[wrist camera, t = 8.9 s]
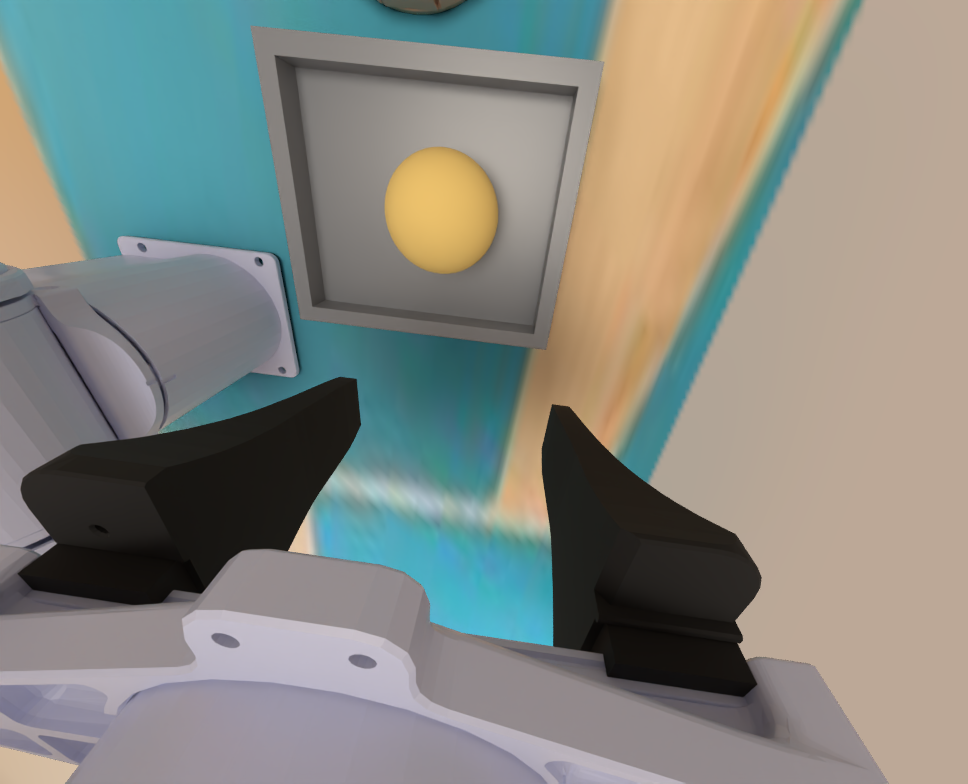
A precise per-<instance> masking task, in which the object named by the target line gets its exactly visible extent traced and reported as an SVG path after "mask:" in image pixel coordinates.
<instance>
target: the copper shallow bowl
mask: <svg viewBox="0 0 968 784" xmlns="http://www.w3.org/2000/svg"><path fill="white" fill-rule="evenodd" d="M377 1H378V2H380V3H383V4H384V5H385V6H388V7H390V8H393V9H396V10H398V11H401V12H406V13H411V14H433V13H439V12H443V11H446V10H448V9H451V8H454V7H456V6H458V5H459V4H461V3H463V2H464V1H466V0H377Z"/></svg>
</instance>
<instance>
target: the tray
mask: <svg viewBox="0 0 968 784" xmlns="http://www.w3.org/2000/svg"><path fill="white" fill-rule="evenodd" d="M251 31H252V37H253V43H254V49H255V55H256V61H257V66H258V72H259V78H260V84H261V90H262V96H263V102H264V108H265V113H266V119H267V125H268V131H269V137H270V143H271V149H272V154H273V160H274V166H275V172H276V178H277V184H278V190H279V196H280V201H281V207H282V213H283V219H284V225H285V231H286V237H287V243H288V248H289V254H290V260H291V266H292V272H293V278H294V284H295V289H296V295H297V301H298V307H299V313H300V319H304V320H312V321H320V322H328V323H336V324H344V325H352V326H360V327H368V328H376V329H384V330H392V331H400V332H408V333H416V334H424V335H432V336H440V337H448V338H456V339H464V340H472V341H480V342H488V343H496V344H504V345H512V346H520V347H528V348H536V349H544V350H546V347H547V342H548V338H549V333H550V328H551V323H552V318H553V313H554V308H555V303H556V298H557V293H558V288H559V283H560V278H561V273H562V268H563V263H564V258H565V253H566V249H567V244H568V239H569V234H570V229H571V224H572V219H573V214H574V209H575V204H576V199H577V194H578V189H579V184H580V179H581V174H582V169H583V164H584V159H585V155H586V150H587V145H588V140H589V135H590V130H591V125H592V120H593V115H594V110H595V105H596V100H597V95H598V90H599V85H600V80H601V75H602V70H603V65H604V62H602V61H592V60H583V59H573V58H563V57H553V56H543V55H533V54H523V53H514V52H504V51H494V50H484V49H474V48H464V47H455V46H445V45H435V44H425V43H415V42H405V41H396V40H386V39H376V38H366V37H356V36H346V35H337V34H327V33H317V32H307V31H297V30H287V29H278V28H268V27H258V26H251ZM429 147H447V148H451V149H455V150H458V151H460V152H462V153H464V154H466V155H467V156H469V157H470V158H472V159H473V160H474V161H475V162H476V163H478V164H479V166H480V167H481V168H482V169H483V170H484V172H485V173H486V175H487V176H488V178H489V179H490V181H491V183H492V185H493V188H494V191H495V194H496V198H497V203H498V224H497V229H496V233H495V236H494V239H493V241H492V243H491V245H490V247H489V249H488V250H487V252H486V253H485V254H484V255H483V256H482V258H481V259H480V260H479V261H477V262H476V263H475V264H474V265H472V266H471V267H469V268H467V269H465V270H463V271H460V272H456V273H450V274H440V273H433V272H429V271H426V270H424V269H421V268H420V267H418V266H416V265H414V264H413V263H412V262H410V261H409V260H408V259H407V258H406V257H405V256H404V255H403V254H402V253H401V252H400V251H399V249H398V248H397V246H396V245H395V243H394V241H393V239H392V238H391V235H390V233H389V230H388V227H387V223H386V218H385V195H386V191H387V187H388V184H389V181H390V179H391V177H392V175H393V173H394V172H395V170H396V169H397V167H398V166H399V165H400V164H401V163H402V162H403V161H404V160H405V159H406V158H407V157H409V156H410V155H411V154H413V153H415V152H417V151H419V150H422V149H425V148H429Z"/></svg>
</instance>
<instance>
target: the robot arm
mask: <svg viewBox="0 0 968 784" xmlns="http://www.w3.org/2000/svg"><path fill="white" fill-rule="evenodd" d="M117 242H118V246H119V248H120V251H121V253H122V255H120V256H113V257H106V258H99V259H92V260H85V261H78V262H71V263H64V264H58V265H50V266H43V267H36V268H29V269H22V270H21V269H19V268H16V267H13V266H8V265H5V264H3V263H1V262H0V746H1V747H5V748H9V749H13V750H17V751H22V752H26V753H30V754H34V755H38V756H43V757H47V758H50V759H55V760H59V761H63V762H67V763H71V764H75V765H79V766H78V768H77V769H76V770H75V771H74V773H73V774H72V775H71V777H70V778H69V779H68V780H67V782H66V783H65V784H889V783H888V781H887V779H886V778H885V776H884V775H883V773H882V772H881V770H880V769H879V767H878V765H877V764H876V762H875V761H874V759H873V757H872V756H871V754H870V753H869V751H868V750H867V748H866V746H865V745H864V743H863V742H862V740H861V739H860V737H859V735H858V734H857V732H856V731H855V729H854V727H853V726H852V724H851V723H850V721H849V719H848V718H847V716H846V715H845V713H844V712H843V710H842V708H841V707H840V705H839V704H838V702H837V701H836V699H835V697H834V696H833V694H832V693H831V691H830V689H829V688H828V686H827V685H826V683H825V682H824V680H823V678H822V677H821V676H820V674H819V672H818V671H817V669H816V667H815V666H813V665H811V664H807V663H801V662H794V661H788V660H780V659H774V658H767V657H755V658H750V659H748V660H745V658H744V656H743V654H742V652H741V650H740V648H739V646H738V644H737V643H741V642H742V641H743V636H742V634H741V632H740V630H739V628H738V626H737V624H736V622H735V620H736V619H737V618H738V617H739V615H740V614H741V613H742V612H743V611H744V609H745V608H746V607H747V606H748V605H749V604H750V602H751V601H752V600H753V599H754V597H755V596H756V594H757V592H758V591H759V589H760V585H761V575H760V572H759V570H758V568H757V566H756V564H755V563H754V561H753V560H752V558H751V557H750V555H749V554H748V552H747V551H746V549H745V548H744V546H743V544H742V543H741V542H740V540H739V538H738V537H737V536H736V534H734V533H732V532H730V531H728V530H726V529H724V528H722V527H720V526H718V525H716V524H714V523H712V522H710V521H708V520H706V519H704V518H702V517H700V516H698V515H697V514H695V513H693V512H691V511H690V510H688V509H686V508H685V507H683V506H681V505H679V504H678V503H676V502H674V501H673V500H671V499H670V498H668V497H666V496H665V495H663V494H662V493H660V492H659V491H657V490H656V489H654V488H653V487H652V486H650V485H649V484H647V483H646V482H645V481H643V480H642V479H641V478H639V477H638V476H637V475H635V474H634V473H633V472H632V471H630V470H629V469H628V468H627V467H626V466H624V465H623V464H622V463H621V462H620V461H619V460H618V459H616V458H615V457H614V456H613V455H612V454H611V453H610V452H609V451H608V450H607V449H606V448H605V447H604V446H603V445H602V444H601V443H600V442H599V441H598V440H597V439H596V437H595V436H594V435H593V434H592V433H591V432H590V431H589V430H588V428H587V427H586V426H585V425H584V424H583V423H582V421H581V420H580V419H579V418H578V417H577V415H576V414H575V413H574V412H573V411H572V409H571V408H570V407H568V406H561V405H553V404H552V407H551V411H550V416H549V420H548V424H547V429H546V433H545V437H544V442H543V446H542V476H543V483H544V490H545V497H546V503H547V510H548V517H549V523H550V532H551V548H552V576H553V646H546V645H539V644H532V643H526V642H519V641H512V640H506V639H499V638H492V637H486V636H479V635H472V634H465V633H461V632H458V631H455V630H452V629H449V628H446V627H444V626H441V625H438V624H435V623H432V622H430V619H429V618H430V603H429V600H428V598H427V595H426V593H425V590H424V588H423V587H422V586H421V584H419V583H418V582H417V581H415V580H414V579H413V578H411V577H410V576H409V575H407V574H406V573H405V572H403V571H399V570H396V569H393V568H390V567H386V566H383V565H379V564H372V563H365V562H358V561H351V560H344V559H337V558H330V557H323V556H316V555H309V554H302V553H296V552H289V551H288V550H289V548H290V546H291V544H292V542H293V540H294V538H295V536H296V534H297V532H298V530H299V528H300V526H301V524H302V522H303V520H304V519H305V517H306V515H307V513H308V511H309V509H310V507H311V505H312V504H313V502H314V500H315V499H316V497H317V496H318V494H319V492H320V491H321V490H322V488H323V487H324V485H325V484H326V482H327V481H328V479H329V478H330V476H331V475H332V473H333V472H334V471H335V469H336V468H337V466H338V465H339V463H340V462H341V460H342V459H343V457H344V456H345V454H346V453H347V451H348V450H349V448H350V447H351V445H352V443H353V441H354V439H355V437H356V434H357V432H358V430H359V428H360V426H361V421H360V410H359V400H358V390H357V379H352V378H345V377H338V378H335V379H332V380H330V381H327V382H325V383H322V384H320V385H318V386H315V387H313V388H311V389H308V390H306V391H304V392H301V393H299V394H297V395H294V396H292V397H290V398H287V399H284V400H282V401H279V402H277V403H274V404H272V405H269V406H266V407H264V408H261V409H258V410H255V411H252V412H249V413H246V414H243V415H240V416H236V417H233V418H230V419H226V420H222V421H218V422H214V423H210V424H206V425H202V426H197V427H193V428H189V429H184V430H179V431H174V432H169V433H163V434H158V431H159V430H161V429H163V428H164V427H166V426H167V425H169V424H170V423H172V422H173V421H175V420H177V419H178V418H180V417H181V416H183V415H184V414H186V413H187V412H189V411H190V410H192V409H194V408H195V407H197V406H198V405H200V404H201V403H203V402H204V401H206V400H207V399H209V398H211V397H212V396H214V395H215V394H217V393H218V392H220V391H221V390H223V389H225V388H226V387H228V386H229V385H231V384H232V383H234V382H235V381H237V380H238V379H240V378H242V377H243V376H245V375H246V374H248V373H249V372H253V373H261V374H269V375H276V376H284V377H295V376H296V375H298V374H299V366H298V360H297V355H296V349H295V344H294V339H293V333H292V328H291V323H290V317H289V312H288V307H287V301H286V296H285V290H284V285H283V280H282V274H281V269H280V264H279V260H278V259H277V257H276V256H275V255H273V254H271V253H267V252H259V251H250V250H242V249H234V248H225V247H217V246H209V245H200V244H192V243H184V242H175V241H167V240H159V239H150V238H142V237H134V236H121V237H119V238H118V241H117ZM144 245H145V247H146V248H147V250H146V249H145V247H144ZM259 258H261V259H262V260H263V265H262V264H261V263H260V262H259ZM282 367H283V368H285V370H286V371H284V370H283V369H282Z"/></svg>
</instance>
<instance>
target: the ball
mask: <svg viewBox="0 0 968 784" xmlns="http://www.w3.org/2000/svg"><path fill="white" fill-rule="evenodd" d="M385 218H386V223H387V227H388V230H389V233H390V235H391V238H392V239H393V241H394V243H395V245H396V246H397V248H398V249H399V251H400V252H401V253H402V254H403V255H404V256H405V257H406V258H407V259H408V260H409V261H410V262H412V263H413V264H414V265H416V266H418V267H420V268H421V269H424V270H426V271H429V272H433V273H440V274H450V273H456V272H460V271H463V270H465V269H467V268H469V267H471V266H472V265H474V264H475V263H476V262H477V261H479V260H480V259H481V258H482V256H483V255H484V254H485V253H486V252H487V250H488V249H489V247H490V245H491V243H492V241H493V239H494V236H495V233H496V229H497V224H498V203H497V198H496V194H495V191H494V188H493V185H492V183H491V181H490V179H489V178H488V176H487V175H486V173H485V172H484V170H483V169H482V168H481V167H480V166H479V164H478V163H476V162H475V161H474V160H473V159H472V158H470V157H469V156H467V155H466V154H464V153H462V152H460V151H458V150H455V149H451V148H447V147H429V148H425V149H422V150H419V151H417V152H415V153H413V154H411V155H410V156H409V157H407V158H406V159H405V160H404V161H403V162H402V163H401V164H400V165H399V166H398V167H397V169H396V170H395V172H394V173H393V175H392V177H391V179H390V181H389V184H388V187H387V191H386V195H385Z"/></svg>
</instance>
